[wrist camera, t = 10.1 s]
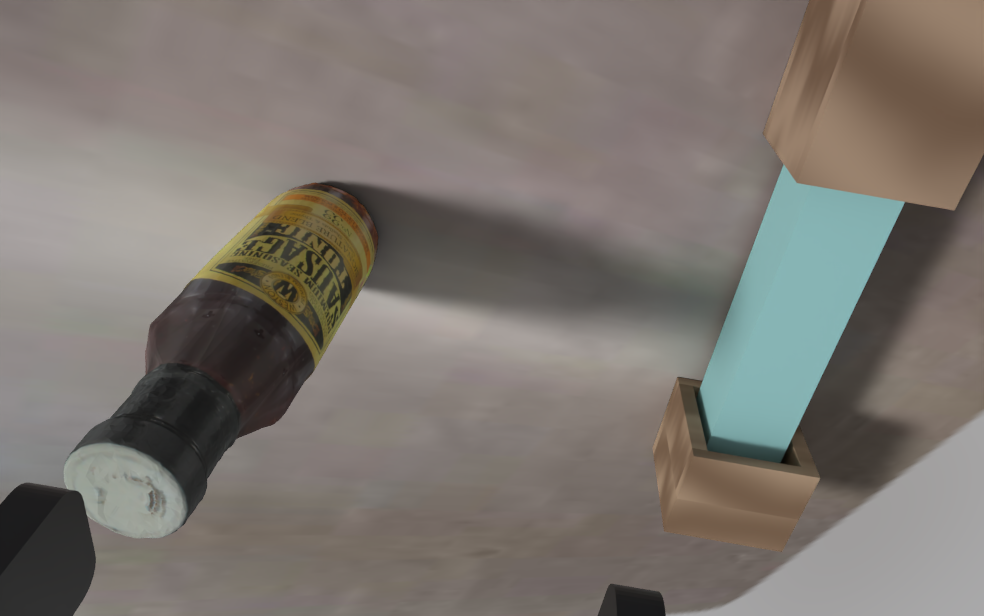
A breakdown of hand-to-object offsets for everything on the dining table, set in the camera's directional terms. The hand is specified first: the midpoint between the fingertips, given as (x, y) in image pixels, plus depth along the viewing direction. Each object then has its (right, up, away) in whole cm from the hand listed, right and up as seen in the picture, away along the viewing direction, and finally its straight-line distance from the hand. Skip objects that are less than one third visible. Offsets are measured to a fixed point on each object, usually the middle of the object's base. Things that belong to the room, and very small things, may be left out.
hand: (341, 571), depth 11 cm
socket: (+16, -3, +33) cm, 36 cm away
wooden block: (+19, +15, +21) cm, 32 cm away
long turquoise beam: (+17, +5, +27) cm, 32 cm away
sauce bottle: (-7, +8, +29) cm, 31 cm away
